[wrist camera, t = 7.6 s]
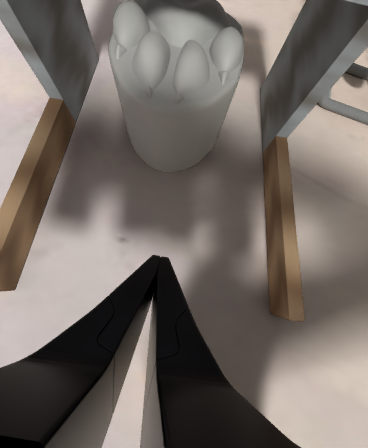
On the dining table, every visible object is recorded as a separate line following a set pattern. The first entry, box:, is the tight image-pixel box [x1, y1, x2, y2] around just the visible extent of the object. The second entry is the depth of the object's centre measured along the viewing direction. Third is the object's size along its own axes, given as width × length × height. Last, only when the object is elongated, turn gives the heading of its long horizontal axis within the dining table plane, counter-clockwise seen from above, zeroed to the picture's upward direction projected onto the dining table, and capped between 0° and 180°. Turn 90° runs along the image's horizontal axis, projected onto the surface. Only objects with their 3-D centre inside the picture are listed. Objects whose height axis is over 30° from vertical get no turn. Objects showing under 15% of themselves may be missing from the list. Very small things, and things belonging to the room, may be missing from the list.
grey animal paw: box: [109, 0, 244, 172], centre depth 16 cm, size 10×13×9 cm
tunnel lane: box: [0, 0, 368, 322], centre depth 13 cm, size 27×23×13 cm
